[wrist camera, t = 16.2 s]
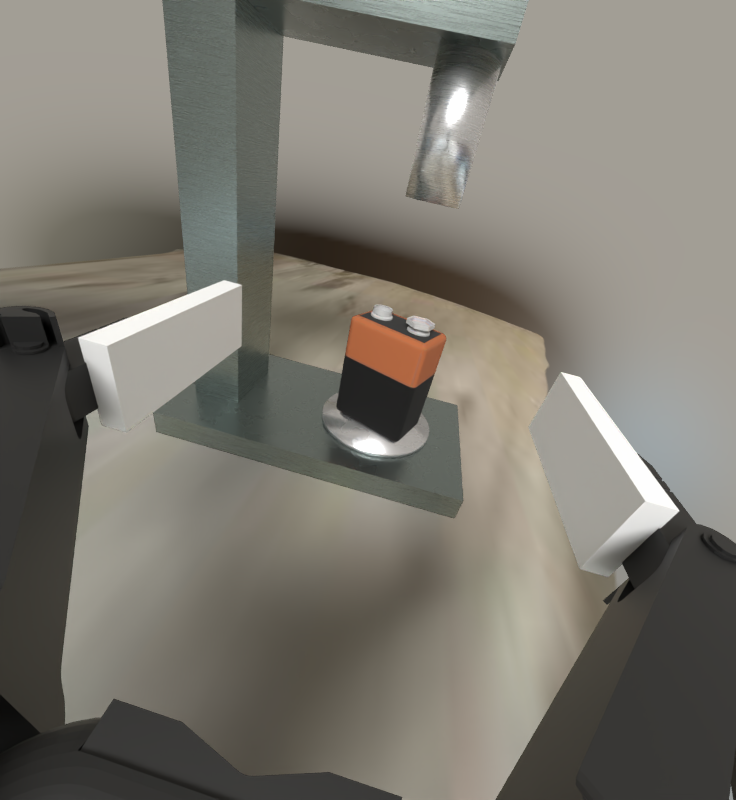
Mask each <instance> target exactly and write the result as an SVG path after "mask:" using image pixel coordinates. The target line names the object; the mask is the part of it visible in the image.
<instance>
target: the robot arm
mask: <svg viewBox="0 0 736 800" xmlns="http://www.w3.org/2000/svg"><path fill="white" fill-rule="evenodd" d="M241 346H242V285H240V284H237V283H233V282H229V281H226V280H223V281H221V282H218V283H216V284H213V285H211V286H208V287H206V288H203V289H201V290H198V291H195V292H193V293H190V294H188V295H185V296H183V297H180V298H178V299H175V300H173V301H170V302H168V303H165V304H162V305H160V306H157V307H155V308H152V309H150V310H147V311H145V312H142V313H140V314H137V315H134V316H132V317H128V318H123V319H121V320H118V321H115V322H113V323H110V325H105V326H103V327H100V328H99V330H98V329H95V330H92V331H90V332H87V333H85V334H82V335H79V336H77V337H74V338H72V339H69V340H67V341H64V342H63V339H62V336H61V332H60V329H59V326H58V322H57V319H56V316H55V313H54V312H52V311H50V310H49V309H45V308H40V307H31V306H12V307H4V308H0V800H402V797H400V796H397V795H394V794H391V793H388V792H386V791H383V790H380V789H377V788H374V787H371V786H368V785H365V784H362V783H359V782H356V781H353V780H350V779H347V778H345V777H342V776H339V775H336V774H333V773H330V772H323V773H304V774H285V775H266V776H247V775H244V774H242V773H240V772H239V771H237V770H236V769H235V768H234V767H233V766H232V765H231V764H229V763H228V762H227V761H226V760H225V759H224V758H223V757H221V756H220V755H219V754H218V753H217V752H216V751H215V750H213V749H212V748H211V747H210V746H209V745H208V744H207V743H205V742H204V741H203V740H202V739H201V738H200V737H199V736H197V735H196V734H195V733H194V732H193V731H192V730H191V729H190V728H188V727H187V726H186V725H185V724H184V723H183V722H181V721H178V720H175V719H172V718H169V717H166V716H163V715H160V714H157V713H154V712H151V711H148V710H146V709H143V708H140V707H137V706H134V705H131V704H128V703H125V702H122V701H119V700H116V699H113V701H112V702H111V704H110V705H109V707H108V708H107V710H106V711H105V713H104V714H103V716H102V717H101V718H92V719H87V720H81V721H76V722H72V723H69V724H66V725H65V701H64V695H63V689H62V683H61V662H62V653H63V644H64V635H65V627H66V618H67V609H68V601H69V592H70V583H71V575H72V566H73V557H74V548H75V540H76V531H77V522H78V514H79V505H80V496H81V488H82V479H83V470H84V461H85V453H86V444H87V435H88V427H89V426H88V423H87V419H86V415H88V414H89V413H91V412H92V411H94V410H96V409H98V413H99V417H100V420H101V424H102V426H106V427H109V428H112V429H116V430H119V431H122V432H126V433H127V432H128V431H129V430H131V429H132V428H133V427H135V426H136V425H137V424H139V423H140V422H141V421H143V420H144V419H145V418H147V417H148V416H149V415H151V414H152V413H153V412H155V411H156V410H157V409H159V408H160V407H161V406H163V405H164V404H165V403H167V402H168V401H169V400H171V399H172V398H173V397H175V396H176V395H177V394H179V393H180V392H181V391H183V390H184V389H185V388H187V387H188V386H189V385H191V384H192V383H193V382H195V381H196V380H197V379H199V378H200V377H201V376H203V375H204V374H205V373H206V372H208V371H209V370H210V369H212V368H213V367H214V366H216V365H217V364H218V363H220V362H221V361H222V360H224V359H225V358H226V357H228V356H229V355H230V354H232V353H233V352H234V351H236V350H237V349H238V348H240V347H241ZM529 430H530V433H531V436H532V439H533V441H534V444H535V447H536V450H537V452H538V455H539V458H540V461H541V463H542V466H543V469H544V472H545V475H546V477H547V480H548V483H549V486H550V488H551V491H552V494H553V497H554V499H555V502H556V505H557V508H558V511H559V513H560V516H561V519H562V522H563V524H564V527H565V530H566V533H567V535H568V538H569V541H570V544H571V547H572V549H573V552H574V555H575V558H576V560H577V563H578V566H579V569H582V570H585V571H589V572H592V573H595V574H599V575H602V576H605V577H609V576H610V575H611V574H612V573H613V572H614V571H615V570H616V569H617V568H618V567H620V566H621V565H622V564H623V566H624V568H625V570H626V572H627V574H628V577H629V578H628V579H627V580H626V581H625V582H624V583H623V584H622V585H620V586H619V587H618V588H617V589H616V590H615V591H614V592H612V593H611V594H610V595H609V596H608V597H607V598H606V599H604V600H603V601H604V602H605V603H606V604H609V603H610V604H609V606H608V607H607V609H606V611H605V612H604V614H603V616H602V618H601V619H600V621H599V623H598V624H597V626H596V628H595V630H594V631H593V633H592V635H591V636H590V638H589V640H588V642H587V643H586V645H585V647H584V649H583V650H582V652H581V654H580V655H579V657H578V659H577V661H576V662H575V664H574V666H573V667H572V669H571V671H570V673H569V674H568V676H567V678H566V679H565V681H564V683H563V685H562V686H561V688H560V690H559V692H558V693H557V695H556V697H555V698H554V700H553V702H552V704H551V705H550V707H549V709H548V710H547V712H546V714H545V716H544V717H543V719H542V721H541V722H540V724H539V726H538V728H537V729H536V731H535V733H534V734H533V736H532V738H531V740H530V741H529V743H528V745H527V747H526V748H525V750H524V752H523V753H522V755H521V757H520V759H519V760H518V762H517V764H516V765H515V767H514V769H513V771H512V772H511V774H510V776H509V777H508V779H507V781H506V783H505V784H504V786H503V788H502V790H501V791H500V793H499V795H498V796H497V798H496V800H729V794H730V787H732V793H733V799H734V800H736V544H735V543H734V542H733V541H731V540H730V539H729V538H727V537H726V536H724V535H722V534H721V533H719V532H717V531H715V530H713V529H711V528H708V527H706V526H703V525H699V524H696V523H695V521H694V520H693V519H692V517H691V516H690V515H689V514H688V512H687V511H686V510H685V508H684V507H683V506H682V504H681V503H680V502H679V500H678V499H677V498H676V497H675V495H674V494H673V493H672V492H670V489H669V488H668V486H667V485H666V483H665V482H664V481H662V478H661V477H660V476H659V474H658V473H657V472H656V470H655V469H654V468H653V466H652V465H650V464H649V463H648V462H647V461H646V460H644V459H643V458H642V457H641V456H640V455H639V454H638V453H636V452H635V450H634V449H633V448H632V446H631V445H630V444H629V442H628V441H627V440H626V438H625V437H624V436H623V434H622V433H621V431H620V430H619V429H618V427H617V426H616V425H615V423H614V422H613V421H612V419H611V418H610V417H609V415H608V414H607V413H606V411H605V410H604V409H603V407H602V406H601V404H600V403H599V402H598V401H597V399H596V398H595V396H594V395H593V394H592V392H591V391H590V390H589V388H588V387H587V386H586V384H585V383H584V382H583V380H582V379H581V378H580V377H577V376H574V375H570V374H566V373H563V372H561V373H560V374H559V376H558V378H557V380H556V381H555V383H554V385H553V386H552V388H551V390H550V391H549V393H548V395H547V396H546V398H545V400H544V401H543V403H542V405H541V406H540V408H539V410H538V412H537V413H536V415H535V417H534V418H533V420H532V422H531V423H530V425H529Z"/></svg>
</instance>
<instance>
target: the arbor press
mask: <svg viewBox="0 0 736 800" xmlns="http://www.w3.org/2000/svg"><path fill="white" fill-rule="evenodd" d="M527 3H528V0H163V11H164V22H165V34H166V45H167V46H166V47H167V58H168V70H169V81H170V93H171V105H172V116H173V127H174V128H173V129H174V140H175V152H176V164H177V175H178V186H179V198H180V211H181V221H182V234H183V244H184V245H183V246H184V257H185V269H186V281H187V292H188V294H190V293H193V292H195V291H198V290H201V289H203V288H206V287H208V286H211V285H213V284H216V283H218V282H221V281H223V280H226V281H229V282H233V283H237V284H240V285H242V346H241V347H240V348H238V349H237V350H236V351H234V352H233V353H232V354H230V355H229V356H228V357H226V358H225V359H224V360H222V361H221V362H220V363H218V364H217V365H216V366H214V367H213V368H212V369H210V370H209V371H208V372H206V373H205V374H204V375H203V376H201V377H200V378H199V379H197V380H196V381H195V382H193V383H192V384H191V385H189V386H188V387H187V388H185V389H184V390H183V391H181V392H180V393H179V394H177V395H176V396H175V397H173V398H172V399H171V400H169V401H168V402H167V403H165V404H164V405H163V406H161V407H160V408H159V409H157V410H156V411H155V412H153V415H154V421H155V427H156V432H159V433H163V434H166V435H170V436H173V437H177V438H180V439H183V440H187V441H190V442H194V443H197V444H201V445H204V446H207V447H211V448H214V449H218V450H221V451H225V452H228V453H232V454H235V455H238V456H242V457H245V458H249V459H252V460H256V461H259V462H262V463H266V464H269V465H273V466H276V467H280V468H283V469H287V470H290V471H293V472H297V473H300V474H304V475H307V476H311V477H314V478H317V479H321V480H324V481H328V482H331V483H335V484H338V485H342V486H345V487H348V488H352V489H355V490H359V491H362V492H366V493H369V494H372V495H376V496H379V497H383V498H386V499H390V500H393V501H397V502H400V503H403V504H407V505H410V506H414V507H417V508H421V509H424V510H427V511H431V512H434V513H438V514H441V515H445V516H448V517H451V518H455V516H456V514H457V512H458V510H459V508H460V506H461V504H462V502H463V490H462V474H461V458H460V441H459V425H458V409H457V405H454V404H451V403H447V402H443V401H440V400H436V399H432V398H429V397H426V400H425V403H424V406H423V409H422V412H421V415H420V418H419V421H418V423H417V424H416V425H415V426H414V427H413V428H412V429H411V430H410V431H409V432H408V433H407V434H406V435H405V436H403V437H402V438H401V439H400V440H399V441H398V442H393V441H391V440H389V439H388V438H386V437H384V436H382V435H381V434H379V433H377V432H375V431H374V430H372V429H370V428H368V427H367V426H365V425H363V424H361V423H360V422H358V421H356V420H354V419H353V418H351V417H349V416H348V415H346V414H344V413H342V412H341V411H339V410H338V409H337V407H336V404H337V398H338V393H339V387H340V381H341V376H342V374H340V373H336V372H332V371H329V370H325V369H321V368H318V367H314V366H310V365H306V364H303V363H299V362H295V361H292V360H288V359H284V358H281V357H277V356H273V355H270V354H269V342H270V320H271V298H272V276H273V254H274V232H275V210H276V188H277V165H278V144H279V121H280V100H281V77H282V56H283V36H285V37H290V38H295V39H299V40H304V41H309V42H314V43H319V44H323V45H328V46H333V47H338V48H343V49H347V50H352V51H357V52H361V53H366V54H371V55H375V56H380V57H385V58H390V59H395V60H399V61H404V62H409V63H413V64H418V65H423V66H428V67H433V73H432V77H431V82H430V86H429V91H428V95H427V100H426V105H425V109H424V114H423V118H422V123H421V128H420V132H419V136H418V141H417V145H416V150H415V155H414V159H413V164H412V168H411V173H410V178H409V182H408V186H407V191H406V195H405V196H406V197H409V198H413V199H417V200H422V201H426V202H430V203H434V204H439V205H443V206H447V207H452V208H457V209H459V207H460V204H461V200H462V197H463V194H464V190H465V187H466V183H467V180H468V177H469V173H470V170H471V167H472V163H473V160H474V156H475V153H476V150H477V146H478V143H479V140H480V136H481V133H482V129H483V126H484V123H485V120H486V116H487V113H488V110H489V106H490V103H491V99H492V96H493V93H494V89H495V86H496V82H497V81H499V78H500V76H501V74H502V72H503V69H504V68H505V65H506V63H507V61H508V59H509V57H510V54H511V52H512V50H513V48H514V46H515V43H516V39H517V36H518V33H519V30H520V26H521V23H522V20H523V17H524V13H525V10H526V7H527Z"/></svg>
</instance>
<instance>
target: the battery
mask: <svg viewBox="0 0 736 800" xmlns="http://www.w3.org/2000/svg"><path fill="white" fill-rule="evenodd" d="M392 312H393V309H392V308H390V307H388V306H385V305H374V309H373V311H369V312H366V313H363V314H359V315H356V316H354V317H352V320H351V325H350V330H349V336H348V342H347V347H346V353H345V359H344V364H343V370H342V376H341V381H340V387H339V393H338V398H337V404H336V407H337V409H338V410H339V411H341V412H342V413H344V414H346V415H348V416H349V417H351V418H353V419H354V420H356V421H358V422H360V423H361V424H363V425H365V426H367V427H368V428H370V429H372V430H374V431H375V432H377V433H379V434H381V435H382V436H384V437H386V438H388V439H389V440H391V441H393V442H398V441H399V440H400V439H401V438H402V437H403V436H405V435H406V434H407V433H408V432H409V431H410V430H411V429H412V428H413V427H414V426H415V425H416V424H417V423H418V421H419V418H420V415H421V412H422V409H423V406H424V403H425V400H426V397H427V395H428V392H429V389H430V386H431V383H432V380H433V377H434V374H435V371H436V368H437V365H438V362H439V359H440V357H441V354H442V351H443V348H444V345H445V342H446V336H445V335H444V334H443V333H440V332H438V331H436V330H433V329H434V327H435V324H434V323H433V322H431V321H430V320H428V319H426V318H422V317H417V316H411V317H409V318H407V319H406V318H403V317H401V316H398V315H396V314H393V313H392Z"/></svg>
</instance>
